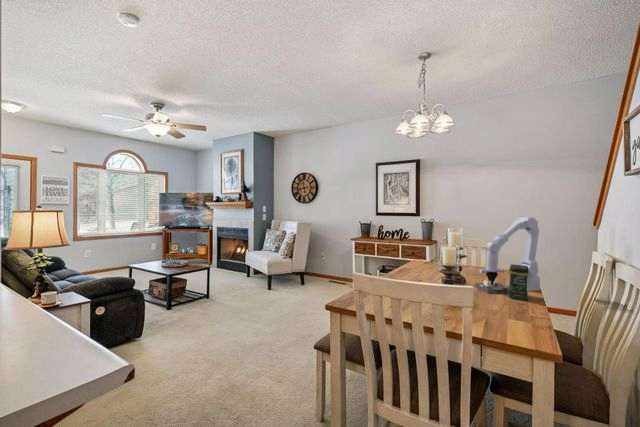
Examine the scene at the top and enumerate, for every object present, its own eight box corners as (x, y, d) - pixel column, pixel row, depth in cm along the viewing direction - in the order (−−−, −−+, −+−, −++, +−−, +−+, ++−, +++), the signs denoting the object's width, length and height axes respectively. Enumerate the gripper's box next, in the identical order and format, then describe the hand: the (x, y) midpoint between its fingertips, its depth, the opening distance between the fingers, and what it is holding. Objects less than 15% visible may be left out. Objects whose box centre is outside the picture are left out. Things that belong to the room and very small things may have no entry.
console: (499, 285, 211) (499, 280, 211) (513, 292, 197) (514, 287, 197) (474, 286, 210) (475, 281, 209) (488, 293, 196) (488, 287, 195)
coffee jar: (507, 298, 187) (508, 265, 186) (507, 294, 194) (509, 262, 193) (527, 301, 182) (529, 267, 181) (527, 297, 189) (529, 264, 188)
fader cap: (487, 284, 205) (487, 279, 205) (491, 286, 201) (491, 281, 201) (483, 285, 205) (483, 280, 204) (487, 286, 201) (487, 281, 200)
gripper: (499, 260, 207) (498, 282, 208) (476, 260, 205) (476, 282, 206) (506, 263, 200) (505, 285, 201) (483, 263, 198) (482, 286, 199)
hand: (491, 284), depth 203 cm, fingers closed
